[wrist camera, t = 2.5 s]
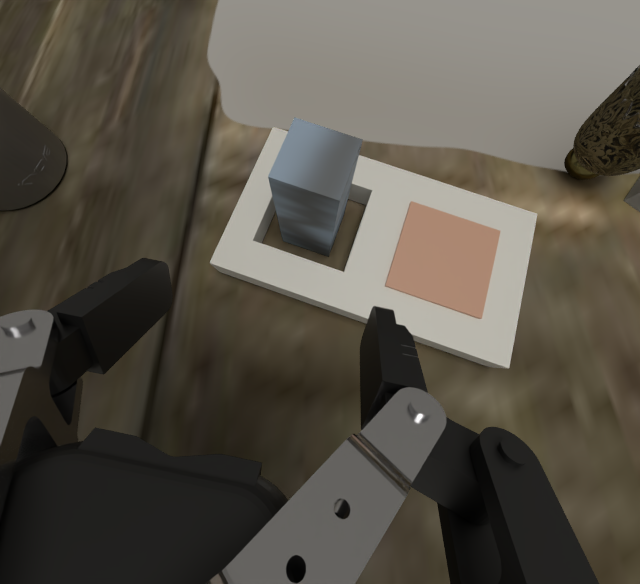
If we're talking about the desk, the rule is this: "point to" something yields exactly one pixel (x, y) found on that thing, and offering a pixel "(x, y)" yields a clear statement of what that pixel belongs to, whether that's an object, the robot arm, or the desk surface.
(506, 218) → the puzzle board
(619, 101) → the dark brown textured piece
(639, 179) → the award plaque
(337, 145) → the blue block
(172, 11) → the desk surface
